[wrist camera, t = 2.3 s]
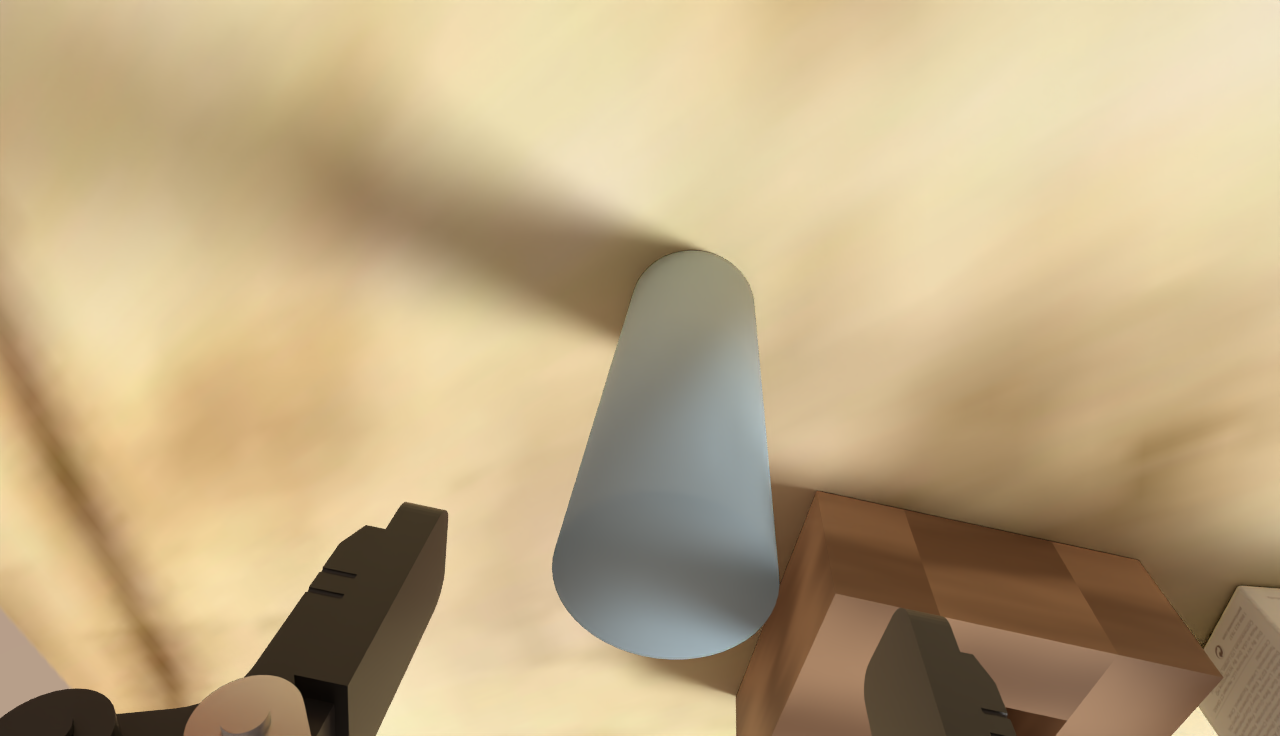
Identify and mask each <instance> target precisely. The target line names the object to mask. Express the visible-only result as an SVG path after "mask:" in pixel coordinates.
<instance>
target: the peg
mask: <svg viewBox="0 0 1280 736" xmlns="http://www.w3.org/2000/svg"><path fill="white" fill-rule="evenodd" d="M552 573H553V580H554V584H555V588H556V591H557V593H558V595H559V598H560V600H561V601H562V603H563V605H564V606H565V608H566V609H567V611H568V612H569V613H570V614H571V616H572V617H573V618H574V619H575V620H576V621H577V622H578V623H579V624H580V625H581V626H582V627H583V628H585V629H586V630H587V631H589V632H590V633H591V634H593V635H594V636H596V637H597V638H599V639H601V640H602V641H604V642H606V643H608V644H610V645H612V646H614V647H616V648H619V649H622V650H624V651H627V652H630V653H633V654H637V655H641V656H646V657H652V658H658V659H693V658H700V657H705V656H710V655H714V654H717V653H720V652H723V651H726V650H728V649H730V648H733V647H735V646H737V645H738V644H740V643H742V642H744V641H745V640H747V639H748V638H749V637H751V636H752V635H753V634H755V633H756V632H757V631H758V630H759V629H760V628H761V627H762V626H763V625H764V623H765V622H766V621H767V619H768V618H769V616H770V615H771V613H772V611H773V609H774V607H775V604H776V601H777V598H778V594H779V584H780V583H779V569H778V558H777V548H776V537H775V526H774V515H773V504H772V493H771V482H770V471H769V460H768V449H767V438H766V427H765V416H764V405H763V394H762V383H761V372H760V361H759V350H758V339H757V328H756V318H755V307H754V298H753V294H752V291H751V288H750V285H749V283H748V282H747V280H746V278H745V277H744V275H743V274H742V273H741V272H740V271H739V270H738V269H737V268H736V267H735V266H734V265H733V264H732V263H730V262H729V261H727V260H726V259H724V258H722V257H720V256H718V255H715V254H712V253H709V252H704V251H695V250H688V251H680V252H676V253H672V254H669V255H667V256H664V257H663V258H661V259H659V260H657V261H656V262H654V263H653V264H652V265H651V266H650V267H648V268H647V269H646V270H645V272H644V273H643V274H642V275H641V277H640V278H639V280H638V282H637V284H636V286H635V289H634V291H633V295H632V298H631V301H630V305H629V308H628V311H627V314H626V318H625V321H624V324H623V328H622V331H621V334H620V337H619V341H618V344H617V347H616V350H615V354H614V357H613V360H612V364H611V367H610V370H609V373H608V377H607V380H606V383H605V387H604V390H603V393H602V396H601V400H600V403H599V406H598V409H597V413H596V416H595V419H594V423H593V426H592V429H591V432H590V436H589V439H588V442H587V446H586V449H585V452H584V455H583V459H582V462H581V465H580V468H579V472H578V475H577V478H576V482H575V485H574V488H573V491H572V495H571V498H570V501H569V504H568V508H567V511H566V514H565V518H564V521H563V524H562V527H561V531H560V534H559V537H558V541H557V544H556V547H555V551H554V555H553V562H552Z"/></svg>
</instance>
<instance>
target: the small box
mask: <svg viewBox="0 0 1280 736" xmlns="http://www.w3.org/2000/svg"><path fill="white" fill-rule="evenodd" d="M1203 650H1204V651H1205V653H1206V654H1207V655H1208V657H1209V658H1210V659H1211V661H1212V662H1213V664H1214V665H1215V666H1216V668H1217V669H1218V670H1219V672H1220V673H1221V675H1222V676H1223V677H1224V678H1223V679H1222V680H1221V681H1220V682H1219V683H1218V685H1217V686H1216V687H1215V688H1214V689H1213V690H1212V691H1211V692H1210V693H1209V695H1208V696H1207V697H1206V698H1205V699H1204V700H1203V701H1202V702H1201V703H1200V704H1199V708H1200V709H1201V711H1202V712H1203V714H1204V715H1205V717H1206V718H1207V720H1208V721H1209V723H1210V724H1211V726H1212V727H1213V729H1214V730H1215V731H1216V733H1217V734H1218V736H1280V588H1265V587H1252V586H1238V587H1237V588H1236V590H1235V592H1234V594H1233V596H1232V597H1231V599H1230V601H1229V603H1228V605H1227V607H1226V609H1225V610H1224V612H1223V614H1222V616H1221V618H1220V620H1219V621H1218V623H1217V625H1216V627H1215V629H1214V631H1213V633H1212V635H1211V636H1210V638H1209V640H1208V642H1207V644H1206V646H1205V647H1204V649H1203Z"/></svg>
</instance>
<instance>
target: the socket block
mask: <svg viewBox="0 0 1280 736" xmlns="http://www.w3.org/2000/svg"><path fill="white" fill-rule="evenodd" d="M898 608H905V609H910V610H915V611H919V612H924V613H929V614H934V615H938V616H943V617H945V618H946V619H947V620H948V622H949V624H950V626H951V628H952V631H953V634H954V636H955V639H956V642H957V645H958V647H959V650H960V652H963V653H968V654H973V655H974V656H975V658H976V659H977V660H978V661H979V663H980V664H981V665H982V667H983V668H984V669H985V670H986V672H987V673H988V674H989V675H990V677H991V678H992V679H993V681H994V682H995V683H996V685H997V688H998V690H999V693H1000V695H1001V698H1002V700H1003V703H1004V705H1005V708H1006V710H1007V713H1008V714H1007V718H1008V719H1010V720H1011V722H1012V725H1013V727H1014V730H1015V732H1016V735H1017V736H1171V735H1172V734H1173V733H1174V732H1175V731H1176V730H1177V729H1178V728H1179V726H1180V725H1181V724H1182V723H1183V722H1184V721H1185V720H1186V719H1187V718H1188V717H1189V715H1190V714H1191V713H1192V712H1193V711H1194V710H1195V709H1196V708H1197V707H1198V706H1199V704H1200V703H1201V702H1202V701H1203V700H1204V699H1205V698H1206V697H1207V696H1208V695H1209V693H1210V692H1211V691H1212V690H1213V689H1214V688H1215V687H1216V686H1217V685H1218V683H1219V682H1220V681H1221V680H1222V679H1223V678H1224V677H1223V676H1222V675H1221V673H1220V672H1219V670H1218V669H1217V668H1216V666H1215V665H1214V664H1213V662H1212V661H1211V659H1210V658H1209V657H1208V655H1207V654H1206V653H1205V651H1204V650H1203V648H1202V647H1201V646H1200V644H1199V643H1198V641H1197V640H1196V639H1195V637H1194V636H1193V635H1192V633H1191V632H1190V630H1189V629H1188V628H1187V626H1186V625H1185V624H1184V622H1183V621H1182V619H1181V618H1180V617H1179V615H1178V614H1177V612H1176V611H1175V610H1174V608H1173V607H1172V606H1171V604H1170V603H1169V601H1168V600H1167V599H1166V597H1165V596H1164V595H1163V593H1162V592H1161V590H1160V589H1159V588H1158V586H1157V585H1156V584H1155V582H1154V581H1153V579H1152V578H1151V577H1150V575H1149V574H1148V572H1147V571H1146V570H1145V568H1144V567H1143V566H1142V564H1141V563H1140V561H1139V560H1135V559H1131V558H1126V557H1121V556H1117V555H1112V554H1107V553H1103V552H1098V551H1094V550H1089V549H1084V548H1080V547H1075V546H1070V545H1066V544H1061V543H1057V542H1052V541H1047V540H1043V539H1038V538H1033V537H1029V536H1024V535H1019V534H1015V533H1010V532H1006V531H1001V530H996V529H992V528H987V527H982V526H978V525H973V524H969V523H964V522H959V521H955V520H950V519H945V518H941V517H936V516H931V515H927V514H922V513H918V512H913V511H908V510H904V509H899V508H894V507H890V506H885V505H881V504H876V503H871V502H867V501H862V500H857V499H853V498H848V497H843V496H839V495H834V494H830V493H825V492H820V491H817V492H816V494H815V497H814V499H813V502H812V505H811V507H810V510H809V512H808V515H807V517H806V520H805V522H804V525H803V527H802V530H801V533H800V535H799V538H798V540H797V543H796V545H795V548H794V550H793V553H792V555H791V558H790V561H789V563H788V566H787V568H786V571H785V573H784V576H783V578H782V581H781V583H780V586H779V594H778V598H777V601H776V604H775V607H774V609H773V611H772V613H771V615H770V616H769V618H768V619H767V621H766V622H765V624H764V627H763V629H762V632H761V634H760V637H759V639H758V642H757V645H756V647H755V650H754V652H753V655H752V657H751V660H750V662H749V665H748V668H747V670H746V673H745V675H744V678H743V680H742V683H741V685H740V688H739V690H738V693H737V696H736V736H872V735H871V730H870V725H869V720H868V715H867V710H866V706H865V700H864V680H865V674H866V669H867V666H868V664H869V662H870V660H871V658H872V656H873V654H874V652H875V650H876V648H877V646H878V644H879V642H880V640H881V638H882V636H883V634H884V632H885V630H886V628H887V626H888V624H889V622H890V620H891V618H892V616H893V614H894V612H895V611H896V610H897V609H898Z"/></svg>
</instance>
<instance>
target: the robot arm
mask: <svg viewBox="0 0 1280 736" xmlns="http://www.w3.org/2000/svg"><path fill="white" fill-rule="evenodd" d="M447 528H448V513H447V511H446V510H441V509H437V508H432V507H427V506H422V505H418V504H413V503H408V502H404V503H403V504H402V505H401V506H400V507H399V509H398V510H397V512H396V514H395V515H394V517H393V518H392V520H391V522H390V523H389V525H388V526H387V528H386V529H382V528H377V527H372V526H367V525H366V526H364V527H363V528H361V529H360V530H358V531H357V532H355V533H354V534H352V535H351V536H350V537H348V538H347V539H345V540H344V541H342V542H341V543H340V544H339V545H338V546H337V548H336V549H335V551H334V552H333V554H332V555H331V556H330V558H329V559H328V561H327V562H326V564H325V565H324V566H323V570H322V572H319V574H318V575H317V576H316V578H315V579H314V581H313V582H312V584H311V585H310V586H309V590H308V592H305V594H304V595H303V596H302V598H301V599H300V601H299V602H298V604H297V605H296V606H295V608H294V609H293V611H292V612H291V614H290V615H289V616H288V618H287V619H286V621H285V622H284V624H283V625H282V627H281V628H280V629H279V631H278V632H277V634H276V635H275V637H274V638H273V639H272V641H271V642H270V644H269V645H268V647H267V648H266V649H265V651H264V652H263V654H262V655H261V657H260V658H259V659H258V661H257V662H256V664H255V665H254V666H253V668H252V669H251V670H250V671H249V673H248V674H247V675H246V676H245V677H244V678H240V679H238V680H235V681H232V682H230V683H228V684H226V685H224V686H222V687H220V688H218V689H217V690H215V691H214V692H212V693H211V694H210V695H209V696H207V697H206V698H205V699H204V700H203V701H202V702H201V703H199V704H195V705H192V706H188V707H182V708H176V709H166V710H155V711H145V712H134V713H124V714H116V713H115V710H114V706H113V704H112V703H111V701H110V700H109V699H108V698H107V697H105V696H104V695H103V694H101V693H98V692H96V691H92V690H88V689H65V690H60V691H55V692H51V693H48V694H45V695H41V696H39V697H36V698H34V699H31V700H29V701H27V702H25V703H23V704H21V705H19V706H18V707H16V708H14V709H13V710H11V711H10V712H8V713H7V714H5V715H4V716H3V717H2V718H0V736H376V734H377V732H378V730H379V727H380V725H381V723H382V721H383V719H384V717H385V715H386V712H387V710H388V708H389V706H390V704H391V702H392V700H393V697H394V695H395V693H396V691H397V689H398V687H399V685H400V682H401V680H402V678H403V676H404V674H405V672H406V670H407V668H408V665H409V663H410V661H411V659H412V657H413V655H414V653H415V650H416V648H417V646H418V644H419V642H420V640H421V638H422V635H423V633H424V631H425V629H426V627H427V625H428V623H429V620H430V618H431V616H432V614H433V612H434V610H435V607H436V605H437V602H438V599H439V596H440V593H441V589H442V585H443V580H444V573H445V559H446V543H447ZM864 700H865V706H866V710H867V715H868V720H869V725H870V730H871V735H872V736H1017V735H1016V732H1015V730H1014V727H1013V725H1012V722H1011V720H1010V719H1008V718H1007V714H1008V713H1007V710H1006V708H1005V705H1004V703H1003V700H1002V698H1001V695H1000V693H999V690H998V688H997V685H996V683H995V682H994V681H993V679H992V678H991V677H990V675H989V674H988V673H987V672H986V670H985V669H984V668H983V667H982V665H981V664H980V663H979V661H978V660H977V659H976V658H975V656H974V655H973V654H968V653H963V652H960V650H959V647H958V645H957V642H956V639H955V636H954V634H953V631H952V628H951V626H950V624H949V622H948V620H947V619H946V618H945V617H943V616H938V615H934V614H929V613H924V612H919V611H915V610H910V609H905V608H898V609H897V610H896V611H895V612H894V614H893V616H892V618H891V620H890V622H889V624H888V626H887V628H886V630H885V632H884V634H883V636H882V638H881V640H880V642H879V644H878V646H877V648H876V650H875V652H874V654H873V656H872V658H871V660H870V662H869V664H868V666H867V669H866V674H865V680H864Z"/></svg>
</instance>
